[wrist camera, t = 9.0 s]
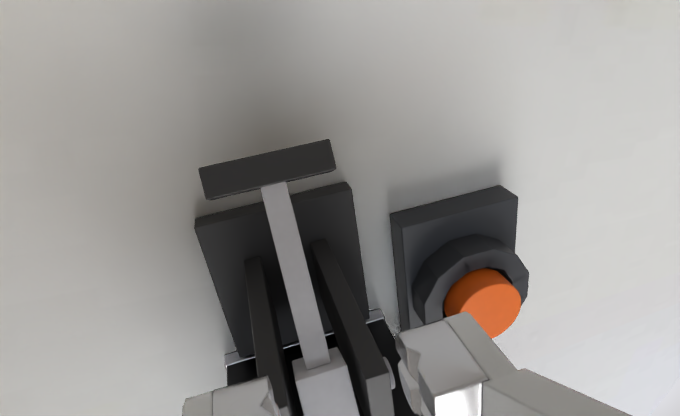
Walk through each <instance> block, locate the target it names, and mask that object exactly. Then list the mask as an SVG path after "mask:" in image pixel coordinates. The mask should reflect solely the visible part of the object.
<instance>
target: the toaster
mask: <svg viewBox="0 0 680 416" xmlns="http://www.w3.org/2000/svg"><path fill="white" fill-rule="evenodd" d="M369 315H370V319H367V320H365V322H366V324H367V326H368V328H369V330H370V332H371V334H372V336H373V338H374V340H375V343H376V345H377V347H378V349H379V351H380V353H381V355H382V357H386V358H387V360H388V362H389V364H390V366H391V369H392V372H393V375H394V379H395V388H394V389H392V397H393V405H394V413H395V416H419V415H417V414H416V413H414V412H412V409H411V407H410V405H409V403H408V401H407V399H406V396H405V394H404V391H403V388H402V384H401V380H400V377H399V370H398V363H399V361H400V360H401V357H400V355H399V353H398V351H397V349H396V344H395V339H394V338H393V336H392V334H391V332H390V330H389V328H388V326H387V324H386V323H385V317H384V315H383V313H382V311H381V310H380V309H377V310H374V311H370V312H369ZM324 335H325V339H326V343H327V347H328V350H329V349H332V348H335V347H338V349H339V351H340V348H339V345H338V343H337V340H336V337H335V334H334V332H333V330H331V331H327V332H324ZM283 350H284V355H285V360H286V365H287V370H288V374H289V379H290V384H291V389H292V394H293V399H294V404H295V409H296V413H297V416H304V414H303V410H302V406H301V402H300V399H299V395H298V391H297V387H296V383H295V377H294V372H293V366H292V361H293V360H296V359H300V358H303V355H302V351H301V347H300V343H299V340H298V341H294V342H291V343H288V344H284V345H283ZM340 353H341V351H340ZM341 355H342V354H341ZM342 357H343V356H342ZM224 359H225V368H226V370H227V386H230V385H233V384H237V383H240V382H244V381H247V380H251V379H254V378H257V377H258V375H257V367H256V359H255V354H251V355H248V356H245V357H241V358H240V357H239V354H238V352H233V353H230V354H227V355H225V356H224ZM350 379H351V378H350ZM351 383H352V381H351ZM352 387H353V391H354V395H355V399H356V403H357V407H358V411H359V415H360V416H364V414H363V411H362V408H361V405H360V403H359V400H358V397H357V395H356V392H355V389H354V386H353V384H352Z"/></svg>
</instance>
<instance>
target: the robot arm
mask: <svg viewBox="0 0 680 416" xmlns="http://www.w3.org/2000/svg"><path fill="white" fill-rule="evenodd" d="M395 344H396V349H397V351H398V353H399V355H400V357H401V360H400V361H399V363H398V370H399V377H400V380H401V384H402V388H403V391H404V394H405V396H406V399H407V401H408V403H409V405H410V407H411V409H412V412H414V413H416V414H417V415H419V416H631V415H629V414H627V413H625V412H622V411H620V410H618V409H616V408H613V407H611V406H609V405H607V404H604V403H602V402H600V401H598V400H595V399H593V398H591V397H589V396H586V395H584V394H582V393H580V392H577V391H575V390H573V389H571V388H568V387H566V386H564V385H562V384H559V383H557V382H555V381H553V380H550V379H548V378H546V377H544V376H541V375H539V374H537V373H535V372H532V371H530V370H528V369H526V368H524V369H521V370H517V369H516V368H515V367H514V365H513V364H512V363H511V362H510V361H509V359H508V358H507V357H506V356H505V355H504V353H503V352H502V351H501V350H500V349H499V347H498V346H497V345H496V344H495V343H494V341H493V340H492V339H491V338H490V337H489V336H488V334H487V333H486V332H485V331H484V330H483V328H482V327H481V326H480V325H479V324H478V322H477V321H476V320H475V319H474V318H473V316H472V315H471V314H470V313H468V312H466V311H465V312H462V313H459V314H456V315H453V316H449V317H446V318H443V319H442V320H441V319H440V320H437V321H434V322H431V323H427V324H424V325H421V326H418V327H415V328H412V329H409V330H406V331H403V332H400V333H397V334H396V336H395ZM182 416H281V415H280V411H279V408H278V404H277V403H275V401H274V395H273V389H272V385H271V383H270V380H269V377H268V375H264V376H261V377H257V378H254V379H251V380H247V381H244V382H240V383H237V384H233V385H230V386H226V387H223V388H219V389H216V390H214V391H210V392H207V393H203V394H200V395H197V396H193V397H190V398H186V400H185V402H184V405H183V409H182Z"/></svg>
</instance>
